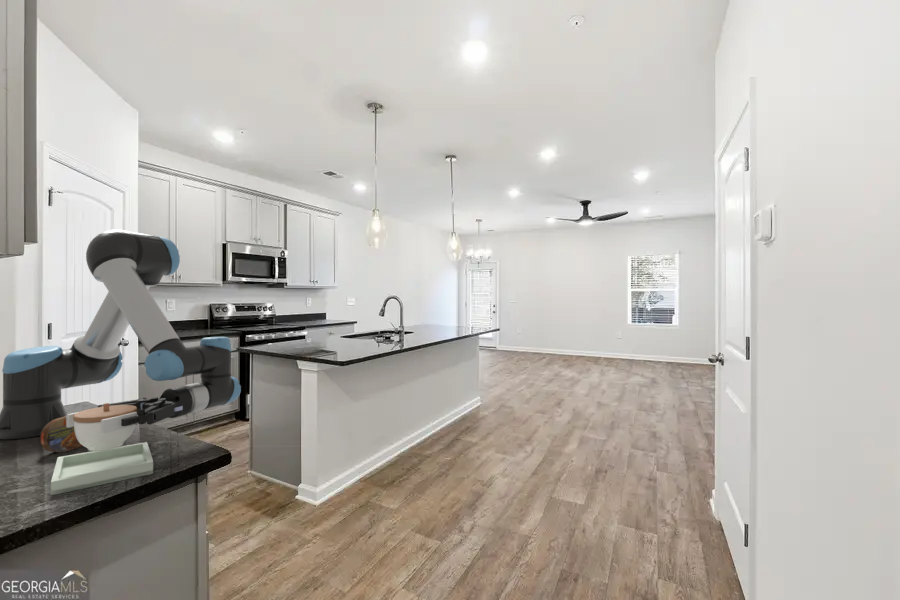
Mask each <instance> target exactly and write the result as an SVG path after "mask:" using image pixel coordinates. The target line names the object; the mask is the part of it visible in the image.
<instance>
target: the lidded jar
mask: <svg viewBox="0 0 900 600" xmlns="http://www.w3.org/2000/svg"><path fill="white" fill-rule="evenodd" d="M109 404H110V402H105V403H103V404H102V405H103V407H93V408H88V409H85V410H80V411H78V413H76V412H75V413H76V414H74V416H73V420H74V431H75V435H76V438H77V440H78V442H79V443H80V444H81V445H83V446H82V447H84V448H87V450H88V452H91V451H102V450H108V449H113V448H116V447H120V446H124V444H125V442H126V441H127V440H128V439H129V438H130V437H131V435H132V434H133V432H134V430H135V427H136V425H134V426H130V427H126V428H122V429H119V430H115V431H111V432H107V433H104V434H103V433H101V420H103V419H107V418H112V417H116V416H120V415H124V414H129V413H133V412H137V407H136V406H133V405H112V406H109Z"/></svg>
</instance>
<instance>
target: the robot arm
mask: <svg viewBox="0 0 900 600" xmlns="http://www.w3.org/2000/svg"><path fill="white" fill-rule="evenodd" d="M86 248H87V249H86V252H85V255H86V256H85V259H86V265H87V267H88V269H89V272H90V273H91V275H92V276H93V278H94V279H95V281H97V282H101V283H102V284H103V285H104V286H105V288H106V290H107V291H108V292H107V293H106V296H105V298H104V299H103V301H102V303H101V305H100V307H99V309H98V310H97V312H96V314H95V316H94V317H93V319H92V321H91V323H90V325H89V327H88V329H86V330H87V331H86V332H85V334H84V335H82V336H79V337H77V338H76V339H75V340H74V341H73V344H72V345H71V347H70V348H68V349H66V348H65V349H63V348H62V346H60V345H46V346H45V345H44V346H37V347H36V346H35V347H29V348H23V349H20V350H19V349H18V350H15V351H12V352H10V353H8V354H7V355H6V356H5V357H4V359H3V366H2V371H1V372H2V409H1V411H0V440H16V439H18V440H19V439H26V438H27V439H28V438H33V437H39V436H40V435H41V431H42V430H43V428H44V427H45V426H46V425H47V424H48V423H49V422H51V421H52V420H54V419H57V418H61V417H65V416H67V417H66V427H68V428H69V427H73V426H74V420H73V416H74V414H76V413H78V412H79V411H78V412H72V413H67V411H66V408H65V406H64V404H63V401H62V390H65V389H69V388H75V387H81V386H89V385H96V384H101V383H103V382H107V381H110V380H112V379H113V378H114V377H116V376H117V375H118V374H119V372H120V371H121V369H122V367H123V362H122V360H123V354H122V353H121V348H120V346H119V343H120V342H121V340H122V338H123V336H124V335H125V333H126V331H127V329H128V327H129V326H130V327H131V329H132V330H133V331H134V333H135V335H136V337H137V339H138V340H139V342H140V343H141V344H142V346H143V348H144V349H145V351H146V352H147V354H148V355H147V356H146V358H145V360H144V364H143V365H144V368H145V374H146V375H147V376H148V378H149V379H151V380H153V381H156V382H163V381H174V380H178V379H182V378H186V377H189V376H195V375H196V376H197V375H200V382H195V383H194V382H193V383H190V384H189V383H188V384H185V385H183V384H182V386H181V385H180V386H175V387H170V388H167V389H165V390H164V391H163V392H162V394H161V395H160V397H159V396H156V397H150V398H147V397H142V398H137V399H132V400H126V401H120V402H119V401H118V402H112V403H109V406H112V405H133V406H136V407H137V412H133V413H129V414H124V415H120V416H116V417H112V418H107V419H103V420H101V433H103V434H104V433H107V432H111V431H115V430H119V429H122V428H126V427H130V426H134V425H135V426H138V425H145V424H146V425H153V424H156V423H158V422H160V421H163V420H166V419H168V418H169V419H176V418H178V417H183V416H186V415H189V414H192V415H195V414H197V412H201V411H203V410H207V409H211V408H215V407H218V406H219V407H220V406H224V405H226V404H227V405H228V404H229V403H233V402H234V401H237V399H238V398H239V396H240V394H241V392H242V389H241V388H242V386H241V384H240V381H239V379H238V378H236V377H235V376H232V352H233V350H232V344H231V343H232V342H231V339H230V338H229V337H227V336H210V337H203V338H201V339H200V342H199V345H196V346H189V347H188V346H185V344H184V343H183V341H182V340H181V338H180V337H179V335H178V334H177V333H176V331H175V329H174V328H173V326H172V325H171V323H170V321H169V319H167V317H166V316H165V314H164V312H163V311H162V309H161V308H160V306H159V304H158V303H157V302H156V300H155V298H154V297H153V295H152V294H151V292H150V291H149V290H150V288H152V287H156V286H158V285H159V284H160V282H161V280H162V278H163V276H170V275H173V274H175V273H176V272H177V271H178V268H179V266H180V261H181V260H180V259H181V258H180V257H181V256H180V254H179V249H178V247H177V245H176V244H175V243H174V241H172V240H171V239H169V238H167V237H162V236H159V235H157V234H154V235H152V234H146V233H141V232H132V231H128V230H123V229H110V230H106V231H103V232H101V233H99V234H97V235H96V236H95V237H93V238H92V239H91V241H90V242H89V244H88V246H87V247H86ZM97 407H103V404H99V405H97ZM97 407H96V408H97ZM137 424H138V425H137Z"/></svg>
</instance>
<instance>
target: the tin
mask: <svg viewBox="0 0 900 600" xmlns="http://www.w3.org/2000/svg"><path fill="white" fill-rule="evenodd" d="M66 417H67V416H65V417H61V418H57V419H54V420H52V421H51V422H49V423H48V424H47V425H46V426H45V427H44V428H43V430H42V431H41V435H40V437H39V442H40V445H41V447H42V448H43V449H44V450H46V451H48V452H51V453H66V452H68V451H71V450H75V449H78V448H81V447H84V446H83V445H81V444H80V443H79V442H78V440H77V438H76V435H75V431H74V426H73V427H69V428H68V427H66Z"/></svg>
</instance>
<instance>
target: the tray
mask: <svg viewBox="0 0 900 600" xmlns="http://www.w3.org/2000/svg"><path fill="white" fill-rule="evenodd" d="M56 458H57V459H56V463H55V465H54V470H53V473H52V477H51V480H50V496H55V495H60V494H64V493H69V492H73V491H77V490H83V489H88V488H91V487H92V488H93V487H97V486H101V485H106V484H112V483H116V482H121V481H125V480H130V479H134V478H139V477H145V476H149V475H153V474H154V460H153V456H152V452H151V450H150V447H149V444H148V441H144V442H138V443H134V444H127V445H121V446H119V447H116V448H113V449H108V450H102V451H87V452H80V453H74V454H69V455H63V456H58V457H56Z"/></svg>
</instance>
